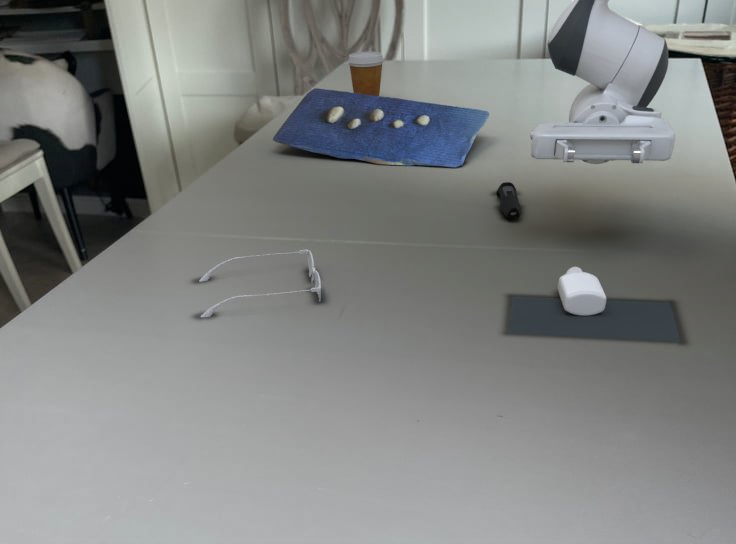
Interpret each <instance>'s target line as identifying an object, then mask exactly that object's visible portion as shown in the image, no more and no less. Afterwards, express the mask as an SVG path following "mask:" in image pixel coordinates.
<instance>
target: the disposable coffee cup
mask: <svg viewBox="0 0 736 544" xmlns="http://www.w3.org/2000/svg"><path fill="white" fill-rule="evenodd" d="M384 61H385V59H384V56H383V53H382V52H379V51H357V52H353V53H352V52H351V53H350V54H349V55H348V60H347V63H348V65H349V71H350V77H351V78H350V79H351V85H352V91H353V92H352V93H358V94H364V95H373V96H380V94H381V93H380V92H381V81H382V71H383V64H384Z"/></svg>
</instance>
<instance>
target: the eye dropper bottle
mask: <svg viewBox="0 0 736 544" xmlns="http://www.w3.org/2000/svg"><path fill="white" fill-rule="evenodd" d="M557 292H558V295H559V298H561V301H562V304H563V307H564V309H565V310H566V311H567V312H569V313H571V314H575V315H580V316H588V315H594V314H598V313H601V312H602V311H604V309H605V305H606V300H608V299H607V295H606V293H605V291H604V289H603V287H602V284H601V281H599V279H598V277H597V276H596V275H595V274H592V273H590V272H587V271H586V272H585V271H583V270H582V269H581V268H580V267H579V266H572V267H570V268H568V269H567V271H566V273H565V274H563V275H561V276H560V277H559V279H558V283H557Z"/></svg>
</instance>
